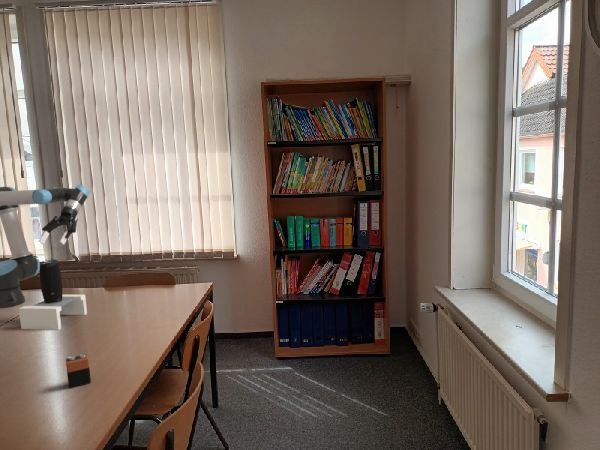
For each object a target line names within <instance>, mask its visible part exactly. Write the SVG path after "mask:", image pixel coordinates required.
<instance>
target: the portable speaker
mask: <svg viewBox="0 0 600 450" xmlns="http://www.w3.org/2000/svg"><path fill="white" fill-rule="evenodd" d="M38 274H39V281H40V288H41V289H40V291H41V293H42V298H43V301H44V302H45V303H50V302H52V301H56V302H59V301H62V294H64V293H63V292H64V290H63V288H64V287H63V280H62V272H61V268H60V264H59V260H58V259H50V260H47V261H44V260H42V261H40V271H39V273H38Z"/></svg>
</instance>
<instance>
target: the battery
mask: <svg viewBox="0 0 600 450" xmlns="http://www.w3.org/2000/svg"><path fill="white" fill-rule="evenodd" d="M65 366H66V374H67V383H68V387H69V388H70V389H71V388H76V387H80V386H84V385H88V384H91V382H92V379H91V370H90V361H89V356H88V354H87V353H86V354H85V353H82V354H79V355H77V356H76V355H70V356H68V357H67V358H65Z"/></svg>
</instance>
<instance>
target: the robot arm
mask: <svg viewBox="0 0 600 450" xmlns="http://www.w3.org/2000/svg"><path fill="white" fill-rule="evenodd" d="M89 195H90V189H89V188H88V187H87V186H85V185H83V184H77V185H76V186H75V188H68V187H62V186H53V187H52V188H46V189H44V188H43V189H29V190H28V189H25V190H17V189H15V188H14V187H12V186H0V220H1V224H2V229H3V231H4V234H5V237H6V240H7V244H8V248H9V250H10V254H11V257H10V258H9V259H5V260H4V261H3V260H1V261H0V308H9V307H15V306H19V305H21V304H23V303H26V298H25V297H26V296H25V295H24V294H23V291H22V290H21V286H20V282H21V281H25V280H28V279H31V278H33V277H35V276H37V275H38V274H40V262H41V261H40V260H39V258H37V257H36V256H34V254H33V252H30V251H29V248H28V244H27V241H26V239H25V235H24V232H23V228H22V225H21V221H20V218H19V214H18V209H20V208H19V205H22V206H23V205H25V206H26V205H48V204H55V203H61V202H66V203H65V204H64V206H63V208H62V210H61V211H60V216H57V215H55V216H53V218H52V219H51V220H50V221H49V222H48V223H47V224H46V225H44V226H43V227H42V228H41V230H42V231H43V233H42V234H41V236H40V238H39V240H38V242H39V243H40V244H41V245H44V244H45V242H46V241H47V239H48V237H49V235H50V232H53V231H54V230H55V229H57V228H58V227H61V226H66V227H65V228H66V231H64V233H63V235H62V237H61V238H60V240H59V243H60V244H62V245H65V244H66V242H67V241H68V239H69V238H70V236H71V235H72V234H75V233H77V232H76V231H77V223H78V220H79V219H78V218H77V216H78V214H79V212H80V211H81V209H82V207H83V205H84V204H85V202H86V200H87V199H88V196H89Z"/></svg>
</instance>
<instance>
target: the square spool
mask: <svg viewBox="0 0 600 450" xmlns="http://www.w3.org/2000/svg"><path fill="white" fill-rule="evenodd" d="M18 313H19V321H20V327H21V330H38V331H39V330H45V331H48V330H51V331H60V330H61V329H62V322H61V316H86V315H88V309H87V300H86V294H64V293H62V301H59V302H56V301H52V302H50V303H45V302H44V300H43V301H41V302H38V303H36V304H34V305H24V306H21V307H19V308H18Z"/></svg>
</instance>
